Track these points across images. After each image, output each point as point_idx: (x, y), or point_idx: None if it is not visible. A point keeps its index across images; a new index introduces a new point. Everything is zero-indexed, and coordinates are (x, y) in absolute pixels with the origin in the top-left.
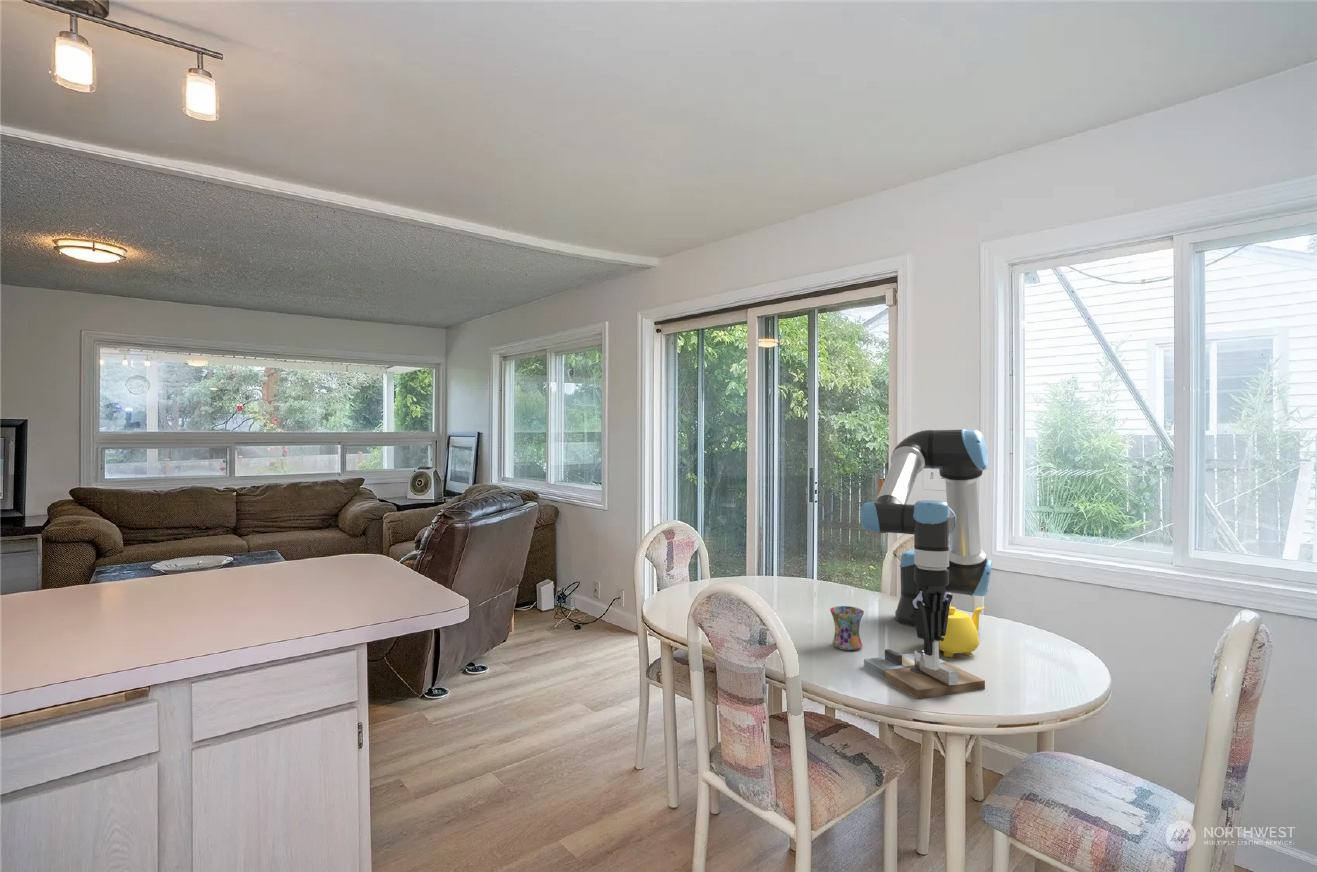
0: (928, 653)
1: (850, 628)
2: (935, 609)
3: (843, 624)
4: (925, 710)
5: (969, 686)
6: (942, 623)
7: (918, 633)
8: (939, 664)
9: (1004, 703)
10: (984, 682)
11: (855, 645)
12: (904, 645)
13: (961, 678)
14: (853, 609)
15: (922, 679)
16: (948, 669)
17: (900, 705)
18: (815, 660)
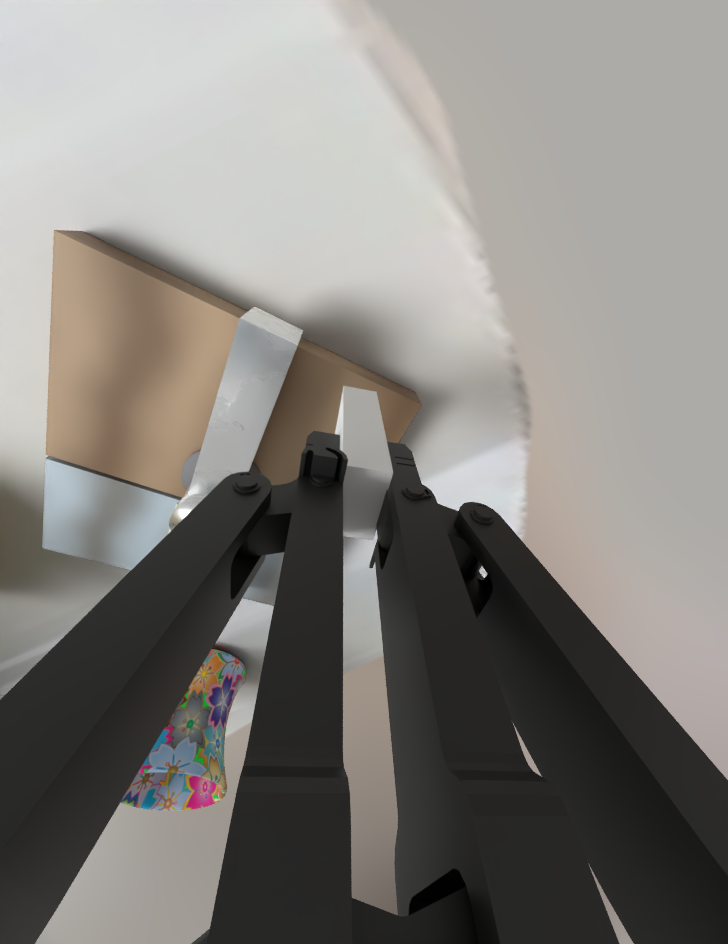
0: (409, 456)
1: (205, 719)
2: (509, 851)
3: (219, 740)
4: (501, 328)
5: (171, 280)
6: (222, 569)
7: (490, 585)
8: (232, 424)
9: (156, 46)
10: (64, 232)
11: (210, 660)
12: (28, 606)
13: (151, 334)
14: None
15: (306, 439)
16: (260, 364)
17: (507, 408)
18: (353, 658)
